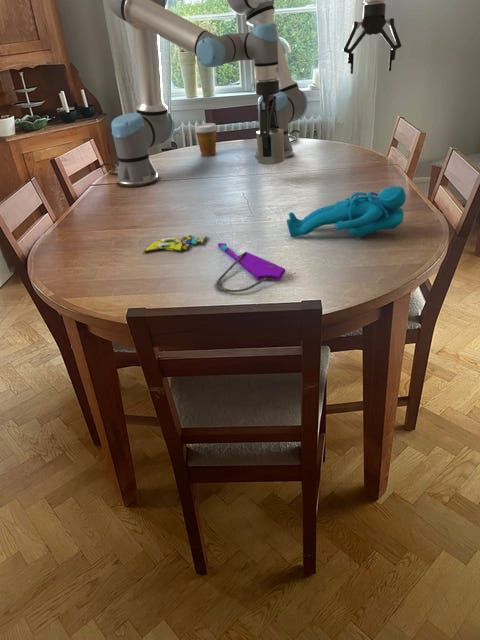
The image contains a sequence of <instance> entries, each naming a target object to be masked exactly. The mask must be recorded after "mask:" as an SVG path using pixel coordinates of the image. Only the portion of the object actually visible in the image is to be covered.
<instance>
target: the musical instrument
mask: <svg viewBox="0 0 480 640" xmlns="http://www.w3.org/2000/svg"><path fill="white" fill-rule="evenodd" d="M217 246H218V247H219V248H220V249H221V251H223V252H224V253H225V254H227V255H228V256H229V257H231V259H233V260H234V262H233V263H232V264H231V265H230V266H229V267H228V268H227V269H226V270H225V271H224V272H223V274H222V275H220V277H219V278H218V280H217V281H216V288H217V289H218V290H220V291H223V292H228V293H240V292H245V291H248V290H251V289H252V288H254V287H256V286H258V285H260V284H262V283H263V282H264V281H265V280H268V279H269V280H275V281H276V280H277V281H280V280H281V279H282V277H283V276H284V275H285V273H286V269H285V268H284V267H282V266H280V265H278V264H275V263H273V262H271V261H269V260H266V259H264V258H262V257H260V256H257V255H256V254H253V253H251V252H248V251H244V252H242V253H241V254H239V255H237V254H236V253H235V252H234V251H232V250H231V249H230V248H229V247H228V246H227V243H225V242H218V243H217ZM236 264H239V265H240V266H241V267H242V268H243V269H245V270H246V271H247V272H248V273H249V274H251V275H252V276H253V277H254V278H255V279H257V280H258V281H257V282H255V283H253V284H251V285H250V286H247V287H245V288H241V289H229V288H225V287H224V288H223V287H222V286H221V281H222V280H223V278H224V277H225V276H226V275H227V274H228V273H229V272H230V271H231V270H232V269H233V267H235V266H236Z"/></svg>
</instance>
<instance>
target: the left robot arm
mask: <svg viewBox="0 0 480 640" xmlns="http://www.w3.org/2000/svg"><path fill="white" fill-rule="evenodd" d="M106 3H107V5H108V7H109V9H110V11H111V13H113V14H114V15H115V16H116V17H118V18H119V19H121V20H123V21H125V22H126V23H127V24H129V26H130V27H131V28H132V33H133V44H134V55H135V67H136V75H137V86H138V87H137V88H138V95H139V96H138V97H139V103H138V104H137V106H135V107H136V108H135V109H136V112H129V113H126V114H121V115H118V116H117V117H115V118H114V119H112V121H111V124H110V125H111V135H112V139H113V142H114V146H115V151H116V155H117V160H118V165H117V164H114V163H110V162H103V163H102V164H101V165H100V168H103V167H104V166H111V167H114V168H111V169H110V170H109V171H108V174H109V175H112V176H117V179H116V180H117V183H118V186H120V187H123V188H124V187H125V188H136V187H137V188H138V187H145V186H147V185H148V186H149V185H151V184H154V183H156V182H157V181H158V180H159V176H158V172H157V169H156V168H155V166H154V163H153V161H152V159H151V156H150V151H149V148H152V147H154V146H157V145H161V144H164V143H166V142H167V141H168V140H170V139H171V138H172V137H173V135H174V132H175V120H174V118H173V117H174V116H172V114H171V112H169V110H168V106H167V105H166V104H165V103H164V97H163V82H162V65H161V52H160V51H161V50H160V37H161V38H162V39H165V40H167V41H168V42H169V43H172V44H173V45H176V46H177V47H179V48H180V49H183V50H185V51H186V52H188V53H190V54H192V55H193V56H195V57H196V58H197V61H198V62H199V63H200V64H201V65H202V66H203V67H206V68H217V67H219V66H222V65H227V64H231V63H234V62H240V61H253V63H254V80H255V81H256V82H255V95H257V96H262V101H261V103H260V104H259V106H260V135H259V137H262V145H263V157H271V136H270V128H279V126H278V117H277V106H276V96H274V95H273V94H277V93H279V81H278V80H277V78H278V77H279V72H278V71H280V68H278V38H277V33H278V28H277V25H276V24H274V23H275V22H274V23H266V24H257V25H253V27H252V26H251V31H250V32H240V33H239V32H236V33H235V32H234V33H233V32H232V33H231V32H230V33H226V34H222V35H216V34H214V33H212V32H211V31H208V30H207V29H205V28H203V27H201V26H200V25H197V23H194V22H192V21H190V20H188V19H187V18H184V16H183V17H182V16H181V15H179V14H177V13H175V12H174V11H172V10H170V9H168V0H106ZM117 169H118V170H117ZM115 170H117V172H114V171H115Z"/></svg>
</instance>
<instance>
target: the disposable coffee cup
mask: <svg viewBox="0 0 480 640" xmlns="http://www.w3.org/2000/svg"><path fill="white" fill-rule="evenodd" d="M217 128H218V127H217V125H216V123H214V122H207V123H206V122H205V123H199V124H196V125H195V126H194V131H195V133H196V138H197V142H198V146H199V150H200V154H201V157H210V156H211V157H212V156H215V155H216V153H217V150H216V149H217Z"/></svg>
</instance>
